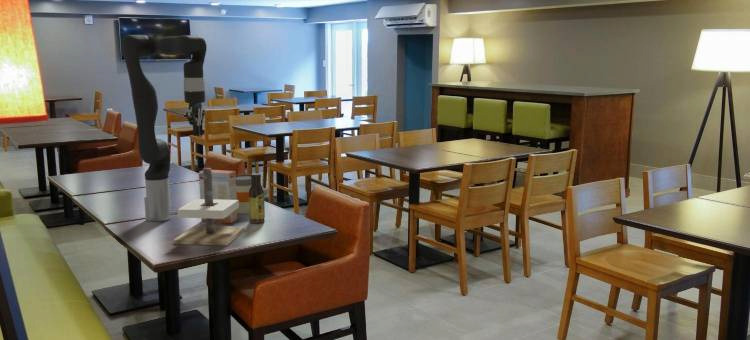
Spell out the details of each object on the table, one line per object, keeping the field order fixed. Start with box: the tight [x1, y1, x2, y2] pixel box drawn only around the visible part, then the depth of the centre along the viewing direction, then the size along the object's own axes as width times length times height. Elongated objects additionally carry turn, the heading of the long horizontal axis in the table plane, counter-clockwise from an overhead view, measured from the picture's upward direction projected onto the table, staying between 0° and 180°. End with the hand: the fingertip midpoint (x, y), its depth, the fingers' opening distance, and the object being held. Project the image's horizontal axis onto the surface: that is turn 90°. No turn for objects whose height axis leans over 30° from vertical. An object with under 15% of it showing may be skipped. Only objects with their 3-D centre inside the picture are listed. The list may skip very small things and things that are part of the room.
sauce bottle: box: [248, 172, 266, 224], centre depth 255 cm, size 7×6×20 cm
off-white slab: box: [177, 198, 239, 219], centre depth 233 cm, size 17×17×3 cm
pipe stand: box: [173, 167, 246, 246], centre depth 233 cm, size 20×20×26 cm
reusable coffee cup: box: [236, 173, 252, 214], centre depth 274 cm, size 13×13×15 cm
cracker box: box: [198, 169, 239, 224], centre depth 257 cm, size 14×6×21 cm, turn 71°
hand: (196, 135), depth 238 cm, fingers closed
